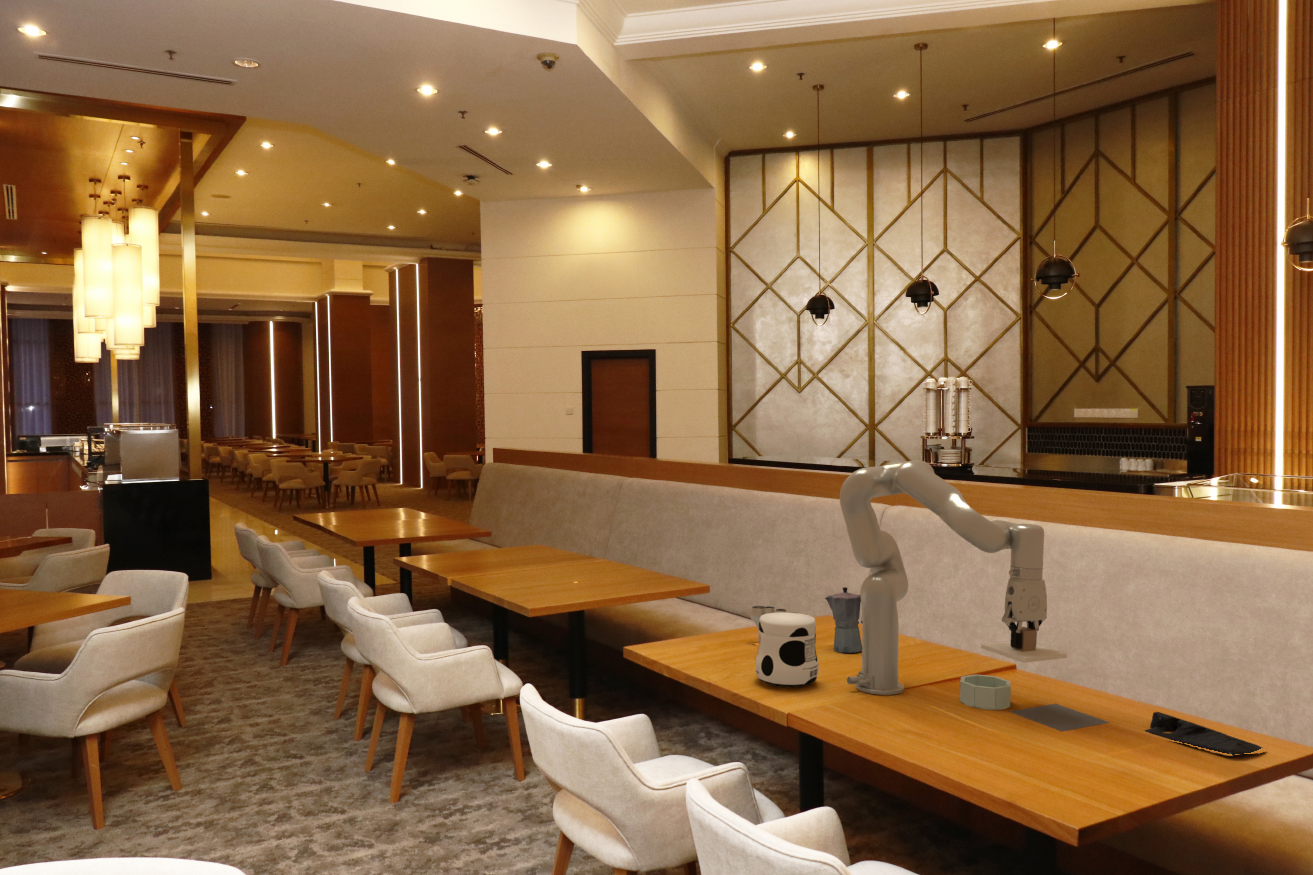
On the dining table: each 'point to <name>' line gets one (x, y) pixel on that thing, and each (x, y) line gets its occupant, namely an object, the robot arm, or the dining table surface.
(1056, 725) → the mat
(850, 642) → the moka pot
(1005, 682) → the bowl
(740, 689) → the dining table surface
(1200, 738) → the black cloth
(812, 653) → the milk container
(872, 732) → the dining table surface
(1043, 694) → the dining table surface
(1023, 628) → the lid
